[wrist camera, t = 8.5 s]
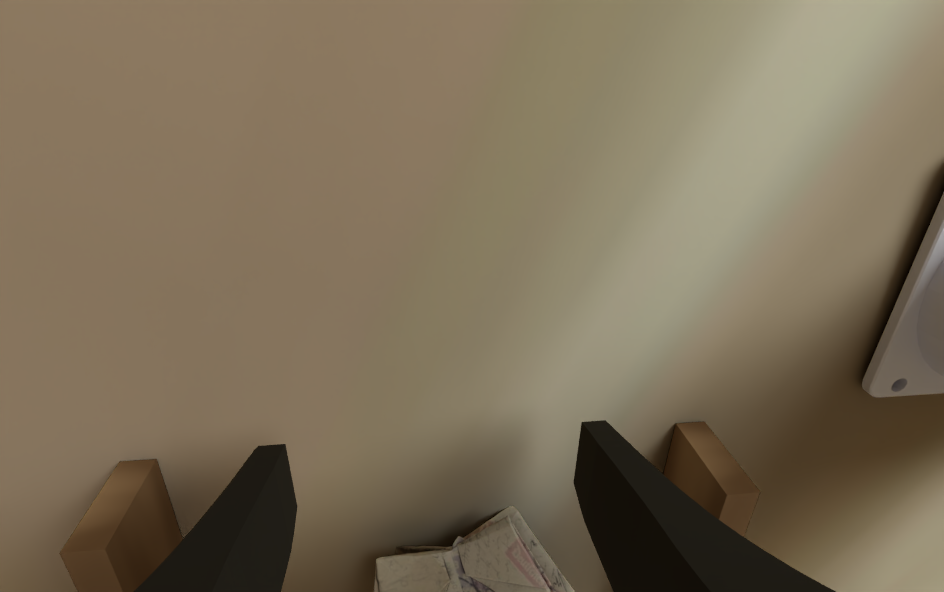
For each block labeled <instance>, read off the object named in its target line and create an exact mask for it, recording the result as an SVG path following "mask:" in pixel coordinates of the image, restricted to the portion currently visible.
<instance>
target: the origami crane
mask: <svg viewBox="0 0 944 592" xmlns="http://www.w3.org/2000/svg"><path fill="white" fill-rule="evenodd" d="M374 592H575V591H574V590H573V588H572V587H571V585H570V584H569V583H568V581H567V580H566V579H565V577H564V576H563V575H562V573H561V572H560V570H559V569H558V568H557V566H556V565H555V563H554V562H553V561H552V559H551V558H550V556H549V555H548V554H547V552H546V551H545V549H544V548H543V547H542V545H541V544H540V542H539V541H538V539H537V538H536V537H535V535H534V534H533V532H532V531H531V530H530V528H529V527H528V525H527V524H526V523H525V521H524V519H523V518H522V516H521V515H520V513H519V511H518V510H517V509H516V508H515V507H514V506H510V507H507V508H506V509H504V510H503V511H501V512H500V513H498V514H497V515H496V516H495V517H493V518H492V519H490V520H488V521H487V522H486V523H484V524H483V525H481V526H480V527H478V528H477V529H475V530H474V531H473V532H471V533H470V534H468V535H467V536H465V537H464V538H462V537H460V536H458V537H457V539H456V540H455V542H454V543H453V546H450V547H439V546H420V547H414V546H401V547H397V548H396V555H391V556H385V557H380V558H377V559H376V567H375V586H374Z"/></svg>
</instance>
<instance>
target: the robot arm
mask: <svg viewBox="0 0 944 592" xmlns="http://www.w3.org/2000/svg"><path fill="white" fill-rule="evenodd" d="M862 388H863V389H864V390H865V391H866V392H868V393H869V394H870V395H872V396H873V397H877V398H880V397H896V396H911V395H926V394H941V393H944V193H943V195H942V197H941V200H940V202H939V204H938V206H937V209H936V211H935V213H934V216H933V218H932V220H931V223H930V225H929V227H928V230H927V232H926V234H925V237H924V239H923V241H922V244H921V246H920V248H919V251H918V253H917V255H916V258H915V260H914V262H913V264H912V267H911V269H910V271H909V274H908V276H907V278H906V281H905V283H904V285H903V288H902V290H901V292H900V295H899V297H898V299H897V302H896V304H895V306H894V309H893V311H892V313H891V316H890V318H889V320H888V322H887V325H886V327H885V329H884V332H883V334H882V336H881V339H880V341H879V343H878V346H877V348H876V350H875V353H874V355H873V357H872V360H871V362H870V364H869V367H868V369H867V371H866V374H865V376H864V378H863V382H862ZM574 486H575V489H576V493H577V497H578V500H579V504H580V508H581V511H582V514H583V518H584V521H585V524H586V526H587V529H588V531H589V534H590V536H591V539H592V541H593V543H594V546H595V548H596V551H597V553H598V556H599V558H600V560H601V563H602V565H603V567H604V570H605V572H606V575H607V577H608V579H609V582H610V584H611V586H612V589H613V591H614V592H835V591H834V590H832V589H830V588H828V587H826V586H824V585H822V584H820V583H819V582H817V581H815V580H813V579H811V578H809V577H808V576H806V575H804V574H802V573H801V572H799V571H797V570H795V569H794V568H792V567H790V566H789V565H787V564H785V563H784V562H782V561H780V560H779V559H777V558H776V557H774V556H772V555H771V554H769V553H767V552H766V551H764V550H762V549H761V548H759V547H758V546H756V545H755V544H753V543H752V542H750V541H749V540H747V539H746V538H744V537H743V536H741V535H740V534H739V533H737V532H736V531H734V530H733V529H731V528H730V527H729V526H727V525H726V524H724V523H723V522H721V521H720V520H719V519H717V518H716V517H715V516H713V515H712V514H711V513H709V512H708V511H707V510H705V509H704V508H703V507H702V506H700V505H699V504H698V503H697V502H695V501H694V500H693V499H692V498H690V497H689V496H688V495H687V494H685V493H684V492H683V491H682V490H680V489H679V488H678V487H677V486H676V485H675V484H673V483H672V482H671V481H670V480H669V479H668V478H667V477H665V476H664V475H663V474H662V473H661V472H660V471H659V470H658V469H656V468H655V467H654V466H653V465H652V464H651V463H650V462H649V461H648V460H647V459H645V458H644V457H643V456H642V455H641V454H640V453H639V452H638V451H637V450H636V449H635V448H634V447H633V446H632V445H631V444H630V443H629V442H627V441H626V440H625V439H624V438H623V437H622V436H621V435H620V434H619V433H618V432H617V431H616V430H615V429H614V428H613V427H612V426H611V425H610V424H609V423H607V422H606V421H591V422H582V425H581V432H580V439H579V447H578V454H577V461H576V469H575V476H574ZM296 512H297V503H296V498H295V493H294V487H293V482H292V477H291V471H290V466H289V461H288V456H287V450H286V445H285V444H280V445H267V446H258V447H257V448H256V449H255V450H254V451H253V453H252V454H251V455H250V457H249V458H248V459H247V461H246V462H245V463H244V465H243V466H242V467H241V469H240V470H239V471H238V473H237V474H236V475H235V477H234V478H233V479H232V481H231V482H230V483H229V485H228V486H227V487H226V488H225V490H224V491H223V492H222V494H221V495H220V496H219V497H218V498H217V500H216V501H215V502H214V503H213V505H212V506H211V507H210V508H209V510H208V511H207V512H206V513H205V514H204V516H203V517H202V518H201V519H200V521H199V522H198V523H197V524H196V525H195V526H194V528H193V529H192V530H191V531H190V532H189V533H188V534H187V535H186V537H185V538H184V539H183V540H182V541H181V542H180V543H179V544H178V546H177V547H176V548H175V549H174V550H173V551H172V552H171V553H170V555H169V556H168V557H167V558H166V559H165V560H164V561H163V562H162V563H161V564H160V565H159V566H158V567H157V568H156V569H155V570H154V572H153V573H152V574H151V575H150V576H149V577H148V578H147V579H146V580H145V581H144V582H143V583H142V584H141V585H140V586H139V587H138V588H137V589H136V590H134V591H133V592H281V589H282V585H283V581H284V577H285V573H286V569H287V565H288V561H289V557H290V553H291V548H292V542H293V535H294V528H295V520H296Z"/></svg>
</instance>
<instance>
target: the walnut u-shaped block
mask: <svg viewBox="0 0 944 592" xmlns="http://www.w3.org/2000/svg"><path fill="white" fill-rule="evenodd" d="M663 475H664V476H665V477H667V478H668V479H669V480H670V481H671V482H672V483H673V484H675V485H676V486H677V487H678V488H679V489H680V490H682V491H683V492H684V493H685V494H687V495H688V496H689V497H690V498H692V499H693V500H694V501H695V502H697V503H698V504H699V505H700V506H702V507H703V508H704V509H705V510H707V511H708V512H709V513H711V514H712V515H713V516H715V517H716V518H717V519H719V520H720V521H721V522H723V523H724V524H726V525H727V526H729V527H730V528H731V529H733V530H734V531H736V532H737V533H739V534H740V535H741V536H743V537H744V535H745V533H746V530H747V527H748V525H749V522H750V519H751V516H752V514H753V511H754V508H755V505H756V503H757V500H758V497H759V495H760V491H759V490H758V488H757V487H756V486H755V485H754V483H753V482H752V481H751V480H750V478H749V477H748V476H747V475H746V473H745V472H744V471H743V469H742V468H741V467H740V466H739V464H738V463H737V462H736V461H735V459H734V458H733V457H732V456H731V454H730V453H729V452H728V451H727V449H726V448H725V447H724V446H723V444H722V443H721V442H720V441H719V439H718V438H717V437H716V435H715V434H714V433H713V432H712V430H711V429H710V428H709V427H708V425H707V424H706V423H705V422H692V423H677V424H676V425H675V429H674V433H673V437H672V441H671V445H670V449H669V453H668V457H667V462H666V466H665V470H664V474H663ZM182 540H183V539H182V536H181V533H180V530H179V527H178V524H177V521H176V518H175V514H174V511H173V508H172V505H171V502H170V499H169V496H168V493H167V490H166V487H165V484H164V480H163V477H162V474H161V471H160V468H159V465H158V462H157V459H152V460H137V461H123V462H119V463H118V465H117V467H116V468H115V470H114V471H113V473H112V474H111V476H110V477H109V479H108V480H107V482H106V483H105V485H104V486H103V488H102V489H101V491H100V492H99V494H98V495H97V497H96V499H95V500H94V502H93V503H92V505H91V506H90V508H89V509H88V511H87V512H86V514H85V515H84V517H83V518H82V520H81V521H80V523H79V524H78V526H77V527H76V529H75V531H74V532H73V534H72V535H71V537H70V538H69V540H68V541H67V543H66V544H65V546H64V547H63V549H62V550H61V552H60V555H61V557H62V559H63V561H64V564H65V566H66V568H67V570H68V572H69V574H70V576H71V578H72V580H73V582H74V584H75V586H76V588H77V590H78V592H133V591H134V590H136V589H137V588H138V587H139V586H140V585H141V584H142V583H143V582H144V581H145V580H146V579H147V578H148V577H149V576H150V575H151V574H152V573H153V572H154V570H155V569H156V568H157V567H158V566H159V565H160V564H161V563H162V562H163V561H164V560H165V559H166V558H167V557H168V556H169V555H170V553H171V552H172V551H173V550H174V549H175V548H176V547H177V546H178V544H179V543H180V542H181V541H182Z"/></svg>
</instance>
